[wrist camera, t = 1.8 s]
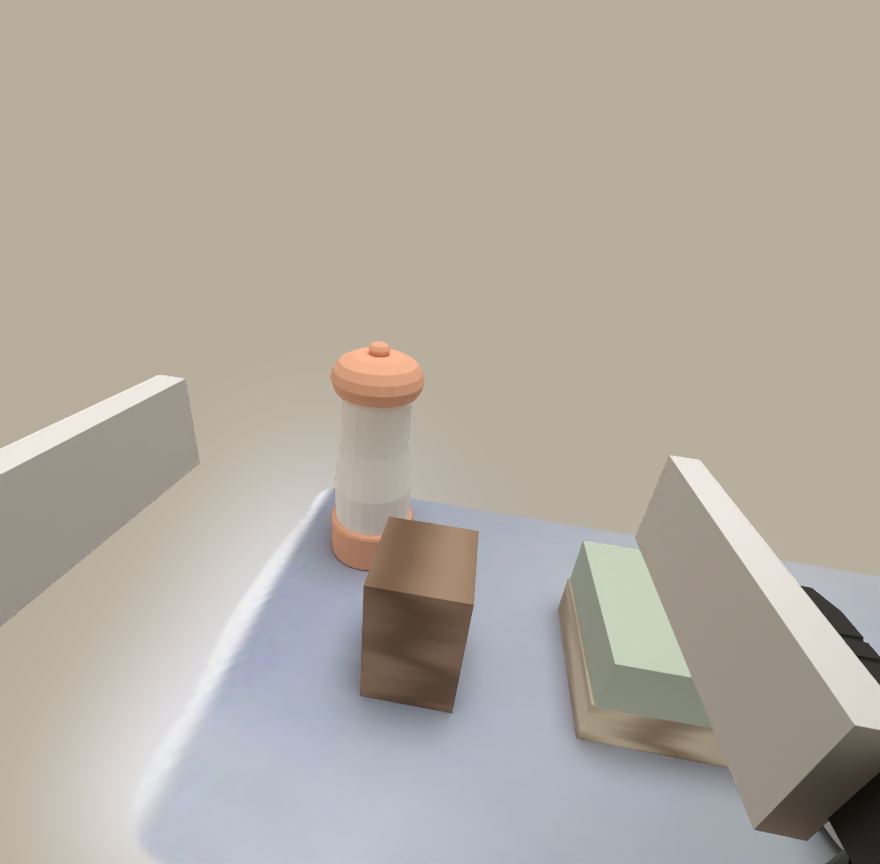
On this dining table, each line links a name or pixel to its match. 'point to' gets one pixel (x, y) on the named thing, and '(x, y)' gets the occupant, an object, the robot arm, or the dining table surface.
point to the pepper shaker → (372, 448)
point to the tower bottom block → (622, 725)
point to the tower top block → (630, 638)
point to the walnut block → (418, 613)
